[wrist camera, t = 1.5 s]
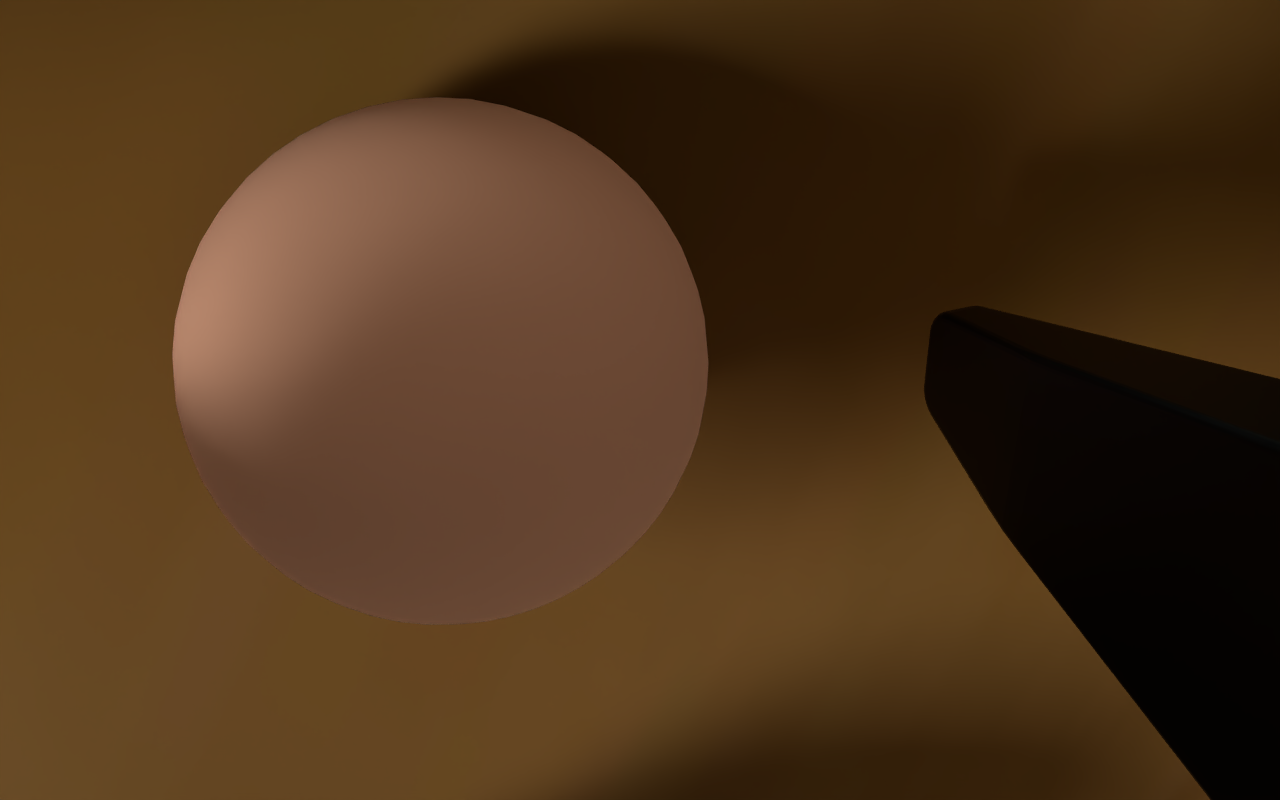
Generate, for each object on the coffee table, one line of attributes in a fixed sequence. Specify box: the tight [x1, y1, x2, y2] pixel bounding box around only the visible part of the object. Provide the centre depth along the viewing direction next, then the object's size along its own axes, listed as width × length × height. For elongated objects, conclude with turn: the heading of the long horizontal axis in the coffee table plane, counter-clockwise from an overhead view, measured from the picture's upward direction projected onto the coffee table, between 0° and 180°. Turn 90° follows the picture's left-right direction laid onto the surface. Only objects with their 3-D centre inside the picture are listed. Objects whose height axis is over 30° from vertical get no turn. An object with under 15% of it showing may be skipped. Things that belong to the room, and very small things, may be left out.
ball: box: [173, 97, 708, 624], centre depth 10 cm, size 5×5×5 cm
